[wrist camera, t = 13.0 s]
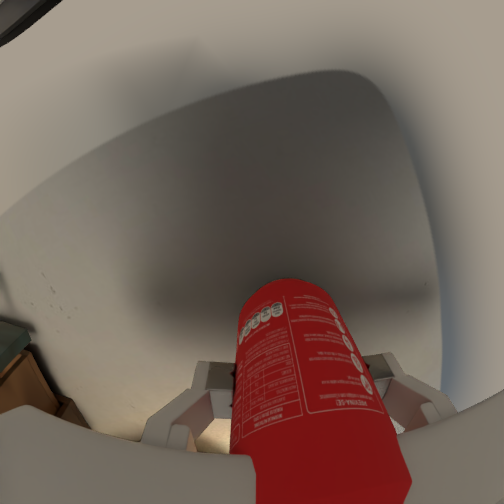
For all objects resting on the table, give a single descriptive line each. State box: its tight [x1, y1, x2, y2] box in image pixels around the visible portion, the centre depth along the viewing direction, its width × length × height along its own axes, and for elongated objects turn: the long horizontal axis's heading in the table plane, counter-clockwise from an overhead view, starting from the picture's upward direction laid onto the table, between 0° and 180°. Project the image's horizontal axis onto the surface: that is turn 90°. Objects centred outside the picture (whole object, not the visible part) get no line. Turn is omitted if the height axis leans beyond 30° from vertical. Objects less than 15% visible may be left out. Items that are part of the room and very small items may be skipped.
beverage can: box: [229, 278, 412, 504], centre depth 9 cm, size 5×5×12 cm
